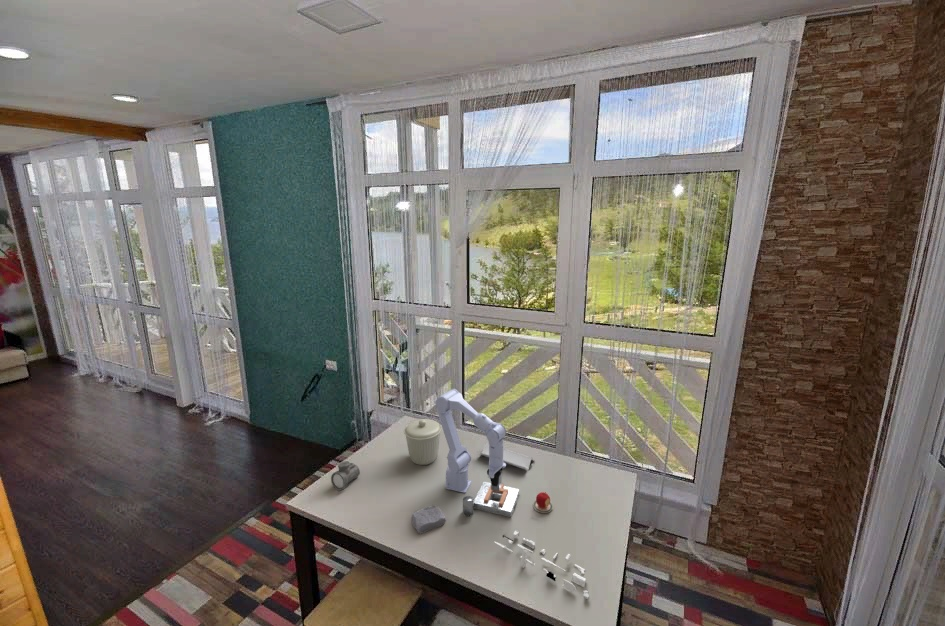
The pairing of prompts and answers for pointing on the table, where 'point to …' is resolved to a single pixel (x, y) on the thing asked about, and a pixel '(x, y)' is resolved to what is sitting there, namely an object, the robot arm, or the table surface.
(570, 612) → the table surface
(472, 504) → the stub post
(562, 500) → the table surface
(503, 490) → the bracket
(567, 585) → the miniature set
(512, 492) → the silver base plate
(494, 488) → the grey rectangular box
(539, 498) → the red apple on plate
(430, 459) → the canister
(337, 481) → the pipe fitting
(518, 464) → the z bracket
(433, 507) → the stone block
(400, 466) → the table surface
